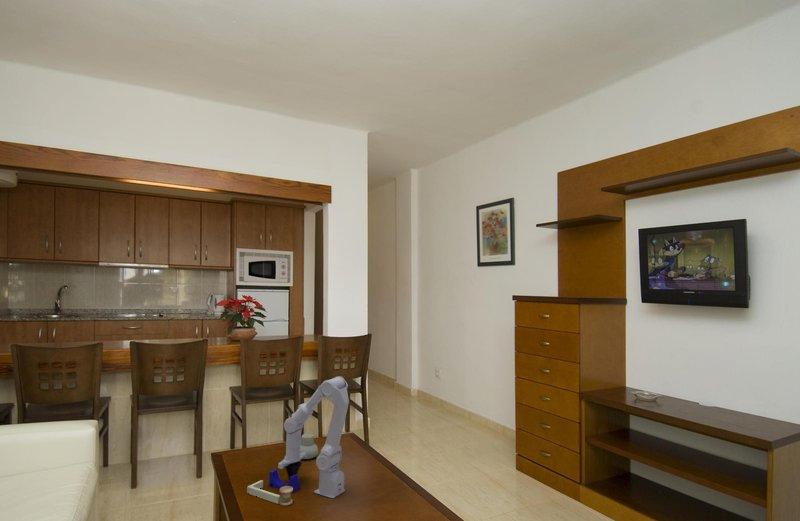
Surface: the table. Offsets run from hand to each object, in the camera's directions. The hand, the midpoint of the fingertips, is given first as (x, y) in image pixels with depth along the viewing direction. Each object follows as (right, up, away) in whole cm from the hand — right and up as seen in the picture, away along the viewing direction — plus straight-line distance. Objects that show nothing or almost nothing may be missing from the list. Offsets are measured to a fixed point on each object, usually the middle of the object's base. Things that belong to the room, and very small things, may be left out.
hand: (292, 480), depth 187 cm
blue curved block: (-2, -1, -4) cm, 5 cm away
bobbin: (+2, 0, -17) cm, 17 cm away
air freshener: (0, -3, +28) cm, 29 cm away
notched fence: (-6, 0, -11) cm, 12 cm away
